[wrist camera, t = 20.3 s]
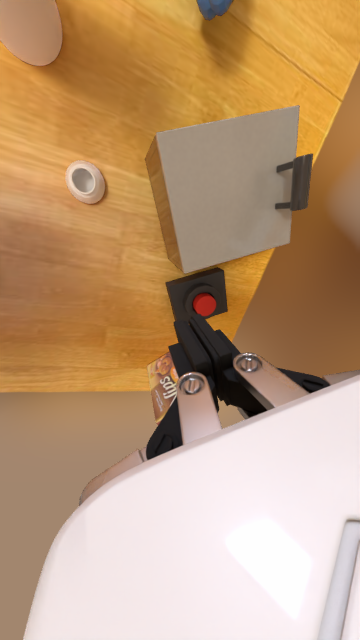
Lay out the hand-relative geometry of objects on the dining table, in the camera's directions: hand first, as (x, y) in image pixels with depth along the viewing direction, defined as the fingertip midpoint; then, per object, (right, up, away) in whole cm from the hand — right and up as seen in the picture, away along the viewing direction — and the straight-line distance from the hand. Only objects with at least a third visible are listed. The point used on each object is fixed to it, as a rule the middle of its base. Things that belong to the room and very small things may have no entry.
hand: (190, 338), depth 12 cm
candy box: (-4, -8, +35) cm, 36 cm away
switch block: (+3, +6, +29) cm, 30 cm away
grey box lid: (+6, +17, +13) cm, 22 cm away
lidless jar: (-14, +21, +17) cm, 30 cm away
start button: (+4, +4, +26) cm, 26 cm away
